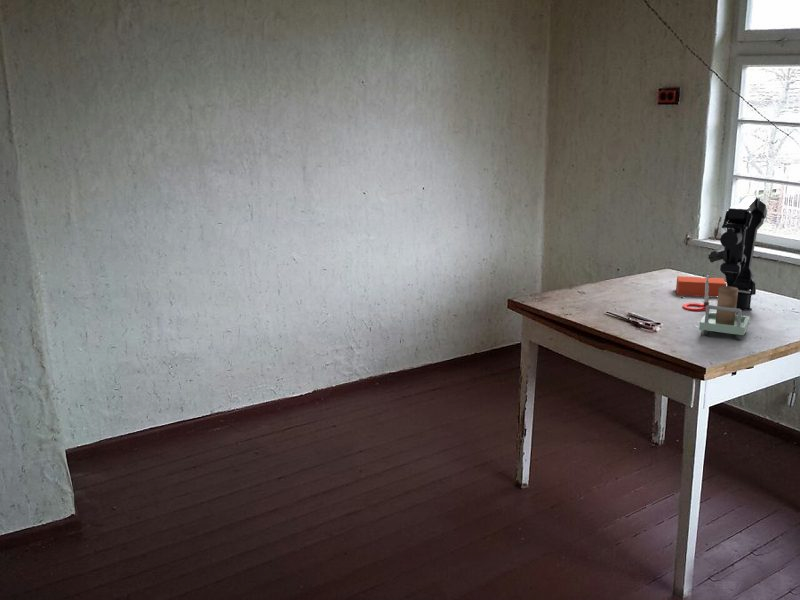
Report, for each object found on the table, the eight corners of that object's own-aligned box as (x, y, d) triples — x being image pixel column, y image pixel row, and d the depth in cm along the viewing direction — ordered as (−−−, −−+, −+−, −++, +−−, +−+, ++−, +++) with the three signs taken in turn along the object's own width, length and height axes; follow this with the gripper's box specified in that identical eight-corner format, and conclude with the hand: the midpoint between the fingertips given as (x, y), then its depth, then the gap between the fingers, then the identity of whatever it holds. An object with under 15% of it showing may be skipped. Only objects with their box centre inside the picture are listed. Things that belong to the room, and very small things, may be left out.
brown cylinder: (723, 319, 263) (727, 285, 260) (738, 324, 258) (742, 289, 255) (711, 322, 261) (715, 287, 257) (726, 327, 256) (730, 291, 252)
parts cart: (705, 324, 270) (708, 294, 267) (748, 330, 263) (751, 299, 260) (698, 335, 258) (701, 304, 255) (743, 341, 251) (746, 310, 248)
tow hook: (684, 311, 287) (710, 311, 285) (685, 278, 283) (711, 278, 281) (681, 305, 295) (706, 305, 292) (682, 273, 291) (707, 273, 289)
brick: (677, 295, 307) (678, 281, 306) (675, 290, 316) (677, 276, 314) (725, 298, 303) (726, 283, 301) (722, 292, 311) (723, 278, 309)
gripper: (715, 236, 277) (711, 277, 282) (706, 246, 262) (702, 289, 266) (748, 239, 272) (743, 281, 276) (741, 249, 256) (736, 293, 261)
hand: (731, 286), depth 270 cm, fingers open, 9 cm apart
